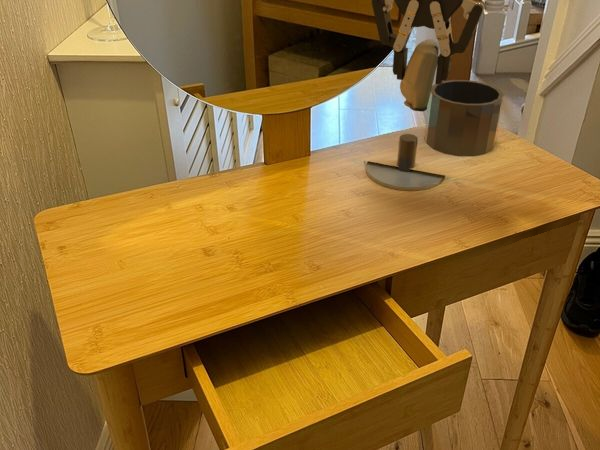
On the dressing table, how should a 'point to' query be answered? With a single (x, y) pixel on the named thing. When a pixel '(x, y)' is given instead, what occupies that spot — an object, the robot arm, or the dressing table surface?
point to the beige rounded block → (420, 75)
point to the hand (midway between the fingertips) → (420, 79)
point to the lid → (403, 169)
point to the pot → (463, 117)
